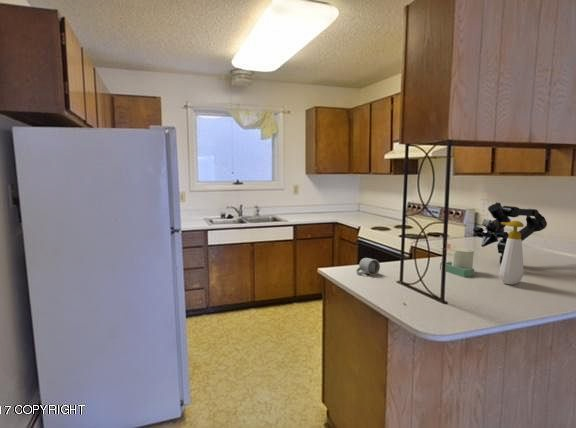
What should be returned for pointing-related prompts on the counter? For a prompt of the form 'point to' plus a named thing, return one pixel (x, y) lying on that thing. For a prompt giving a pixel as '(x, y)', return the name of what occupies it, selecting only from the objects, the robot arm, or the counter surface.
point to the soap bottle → (512, 256)
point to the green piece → (458, 270)
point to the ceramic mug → (368, 266)
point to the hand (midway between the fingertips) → (482, 246)
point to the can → (463, 258)
